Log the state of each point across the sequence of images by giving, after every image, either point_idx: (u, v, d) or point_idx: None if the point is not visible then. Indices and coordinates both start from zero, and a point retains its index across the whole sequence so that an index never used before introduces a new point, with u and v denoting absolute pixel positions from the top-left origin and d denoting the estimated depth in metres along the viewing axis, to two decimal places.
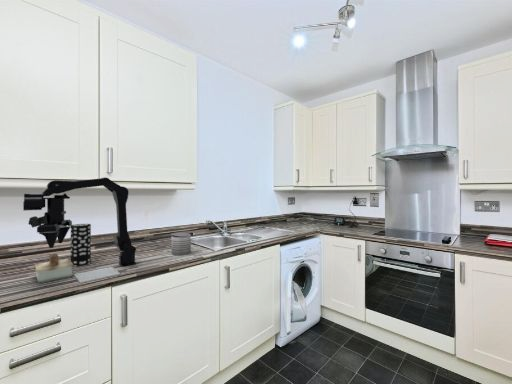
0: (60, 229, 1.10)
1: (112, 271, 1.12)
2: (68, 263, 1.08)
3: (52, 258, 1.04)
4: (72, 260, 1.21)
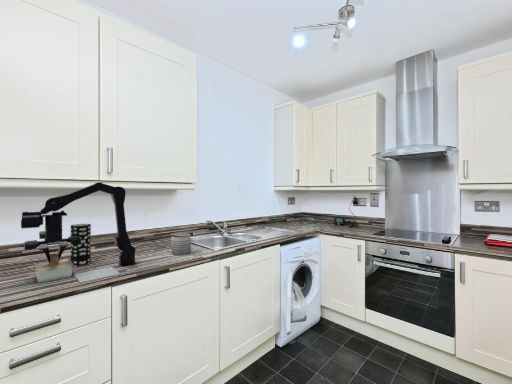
0: (59, 247, 1.08)
1: (112, 271, 1.12)
2: (68, 263, 1.08)
3: (52, 258, 1.04)
4: (72, 260, 1.21)
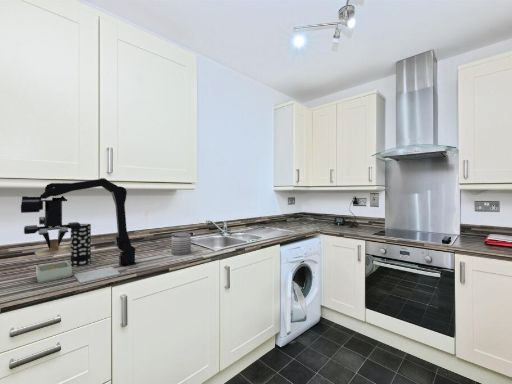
0: (59, 232, 1.08)
1: (112, 271, 1.12)
2: (68, 249, 1.08)
3: (52, 243, 1.04)
4: (72, 260, 1.21)
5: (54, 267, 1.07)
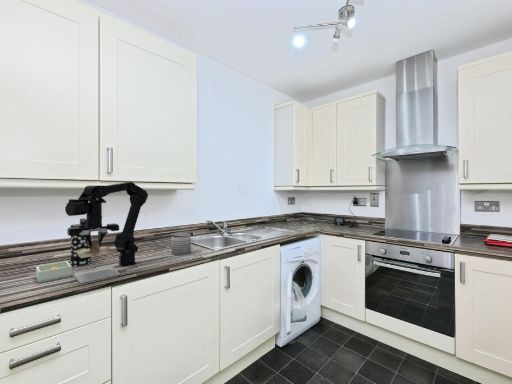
0: (99, 234, 1.10)
1: (112, 271, 1.12)
2: (108, 250, 1.10)
3: (93, 244, 1.06)
4: (72, 260, 1.21)
5: (54, 267, 1.07)
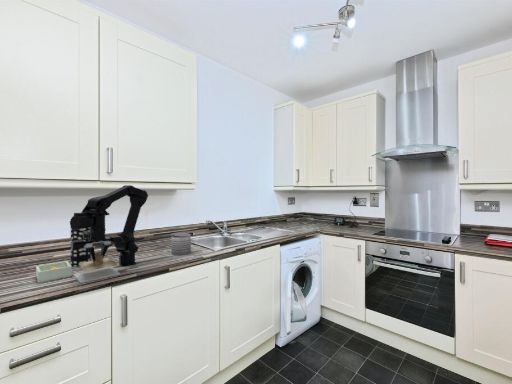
0: (102, 246, 1.10)
1: (112, 271, 1.12)
2: (111, 262, 1.11)
3: (97, 257, 1.07)
4: (72, 260, 1.21)
5: (54, 267, 1.07)
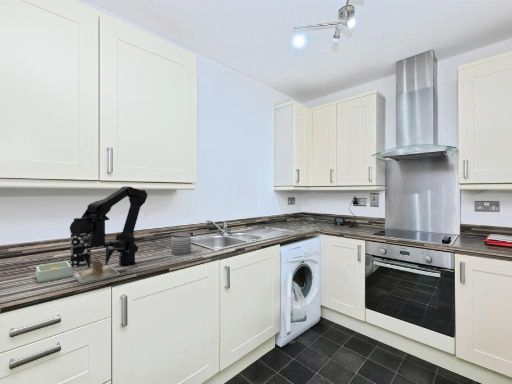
0: (107, 250, 1.12)
1: None
2: (111, 271, 1.11)
3: (97, 266, 1.07)
4: (72, 260, 1.21)
5: (54, 267, 1.07)
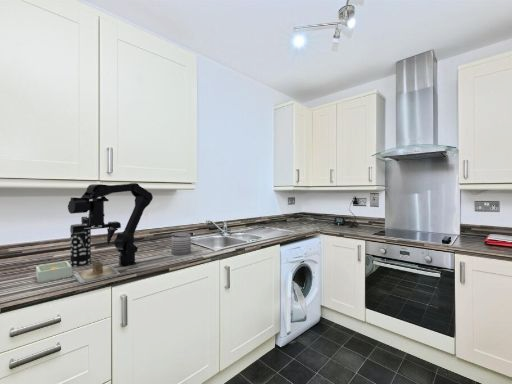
0: (109, 230, 1.16)
1: None
2: (111, 271, 1.11)
3: (97, 266, 1.07)
4: (72, 260, 1.21)
5: (54, 267, 1.07)
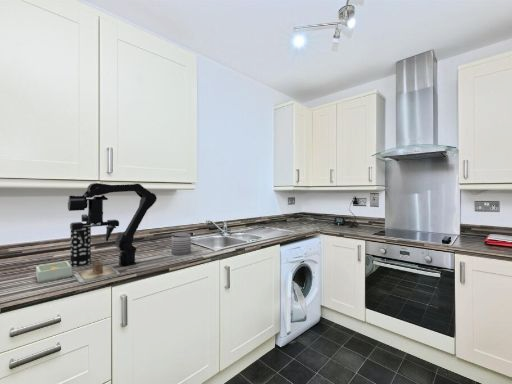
0: (107, 228, 1.19)
1: None
2: (111, 271, 1.11)
3: (97, 266, 1.07)
4: (72, 260, 1.21)
5: (54, 267, 1.07)
